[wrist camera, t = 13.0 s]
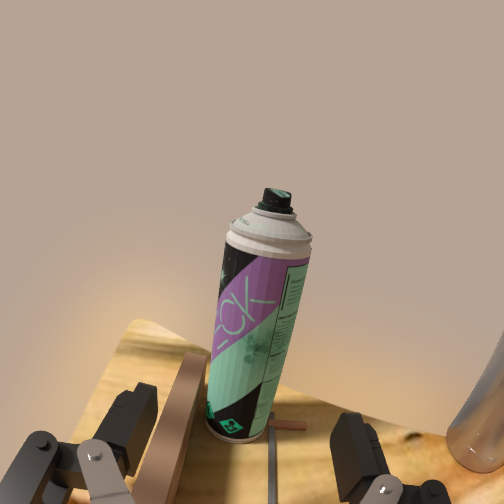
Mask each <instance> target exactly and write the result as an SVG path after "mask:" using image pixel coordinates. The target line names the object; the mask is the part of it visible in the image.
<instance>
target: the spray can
mask: <svg viewBox="0 0 504 504" xmlns="http://www.w3.org/2000/svg"><path fill="white" fill-rule="evenodd" d="M290 203H291V193H289V192H285V191H282V190H277V189H271V188H265V190H264V195H263V200H262V202H259V203H258V206H253V207H252V211H253V212H251V213H248V214H246V215H245V216H242V217H241V218H239V219H235V220H232V221H231V222H230V228H231V230H230V231H229V232H228V233H227V236H226V243H225V250H224V258H223V265H222V273H221V280H220V288H219V296H218V305H217V312H216V320H215V329H214V337H213V347H212V355H211V364H210V373H209V382H208V392H207V402H206V412H205V422H206V426H207V428H208V430H209V431H210V432H211V433H212V434H213V435H214V436H216V437H217V438H219V439H221V440H223V441H226V442H229V443H236V444H242V443H248V442H251V441H253V440H255V439H257V438H258V437H260V436H261V434H262V433H263V431H264V429H265V426H266V423H267V420H268V417H269V414H270V410H271V407H272V404H273V400H274V397H275V393H276V390H277V386H278V383H279V379H280V376H281V372H282V368H283V365H284V361H285V358H286V354H287V350H288V346H289V343H290V339H291V335H292V331H293V327H294V323H295V319H296V315H297V311H298V307H299V302H300V298H301V294H302V290H303V286H304V281H305V277H306V273H307V268H308V263H309V259H310V254H311V250H312V248H311V246H310V244H309V243H310V242H311V241H312V235H311V234H310V233H309V232H307V231H306V230H305V229H304V228H303V227H302V226H301V224H300V223H299V222H297V221H296V220H295V219H296V216H297V214H295V213H294V212H293V208H292V207H290Z"/></svg>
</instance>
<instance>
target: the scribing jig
mask: <svg viewBox="0 0 504 504" xmlns="http://www.w3.org/2000/svg"><path fill="white" fill-rule="evenodd" d="M206 363H207V356H205V355H200V354H195V353H190V352H186V354H185V357H184V359H183V362H182V364H181V366H180V369H179V371H178V374H177V376H176V379H175V381H174V384H173V386H172V389H171V391H170V394H169V396H168V399H167V401H166V404H165V406H164V409H163V412H162V414H161V417H160V419H159V422H158V424H157V427H156V429H155V432H154V435H153V437H152V440H151V442H150V445H149V448H148V450H147V453H146V455H145V458H144V461H143V463H142V466H141V469H140V471H139V474H138V477H137V479H136V482H135V485H134V488H133V490H132V493H131V496H132V498H133V500H134V502H135V504H174V500H175V496H176V492H177V489H178V485H179V481H180V477H181V473H182V469H183V465H184V461H185V457H186V454H187V450H188V446H189V442H190V438H191V434H192V431H193V427H194V423H195V419H196V415H197V412H198V408H199V404H200V400H201V397H202V393H203V389H204V384H205V373H206ZM268 427H269V454H268V504H276V499H275V429H274V428H281V429H295V430H306V422H295V421H282V420H274V412H270V414H269V420H268Z"/></svg>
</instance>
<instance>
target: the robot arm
mask: <svg viewBox="0 0 504 504" xmlns="http://www.w3.org/2000/svg"><path fill="white" fill-rule="evenodd" d="M157 415H158V401H157V387H156V386H152V385H149V384H145V383H141V382H139V383H138V384H137V386H136V388H135V390H134V392H131V391H128V390H125V391H124V392H122V393H121V394H119V395H118V396H117V397H116V399H115V401H114V402H113V404H112V406H111V407H110V409H109V411H108V413H107V414H106V416H105V418H104V419H103V421H102V423H101V424H100V426H99V428H98V430H97V431H96V433H95V435H94V436H93V438H92V439H89V440H86V441H84V442H82V443H81V444H70V443H64V442H58V441H57V440H56V438H55V437H54V436H53V435H52V434H51V433H49V432H46V431H36V432H33V433H32V434H30V435H29V436H28V438H27V439H26V441H25V443H24V444H23V446H22V448H21V449H20V451H19V452H18V454H17V456H16V457H15V459H14V461H13V462H12V464H11V465H10V467H9V469H8V471H7V472H6V474H5V476H4V477H3V479H2V481H1V483H0V504H67V503H68V500H69V498H70V495H71V493H72V490H73V488H77V489H84V490H88V491H89V494H90V501H91V504H135V502H134V500H133V498H132V496H131V494H130V492H129V490H128V488H127V486H126V484H125V482H124V479H125V477H126V475H128V476H131V477H134V475H135V473H136V470H137V468H138V465H139V463H140V460H141V458H142V455H143V452H144V450H145V447H146V445H147V442H148V440H149V437H150V435H151V432H152V430H153V427H154V425H155V422H156V419H157ZM446 438H447V444H448V447H449V450H450V452H451V453H452V455H453V456H454V458H455V459H456V460H457V461H458V462H459V463H460V464H462V465H463V466H464V467H466V468H468V469H469V470H472V471H475V472H480V473H488V472H492V471H495V470H496V469H498V468H499V467H500V466H501V465H502V464H503V463H504V331H503V333H502V336H501V338H500V340H499V342H498V345H497V347H496V349H495V351H494V353H493V355H492V357H491V359H490V361H489V363H488V364H487V366H486V368H485V370H484V372H483V374H482V376H481V377H480V379H479V381H478V383H477V384H476V386H475V388H474V390H473V391H472V393H471V395H470V396H469V398H468V399H467V401H466V402H465V404H464V406H463V407H462V409H461V410H460V412H459V413H458V415H457V416H456V418H455V419H454V420H453V422H452V423H451V425H450V426H449V428H448V431H447V436H446ZM330 449H331V455H332V460H333V465H334V471H335V476H336V482H337V488H338V494H339V500H340V502H349V504H451V501H450V498H449V496H448V493H447V490H446V487H445V486H444V485H443V483H441V482H440V481H437V480H428V481H425V482H424V483H423V484H422V485H421V486H414V485H405V484H402V482H401V481H400V480H399V479H398V478H397V477H395V476H393V475H391V474H390V472H389V469H388V466H387V463H386V460H385V457H384V454H383V451H382V449H381V445H380V442H379V439H378V436H377V434H376V431H375V430H374V429H373V428H372V426H371V425H370V424H369V423H364V422H363V419H362V416H361V414H360V413H342V414H341V416H340V418H339V420H338V422H337V424H336V426H335V428H334V430H333V431H332V433H331V436H330Z"/></svg>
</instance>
